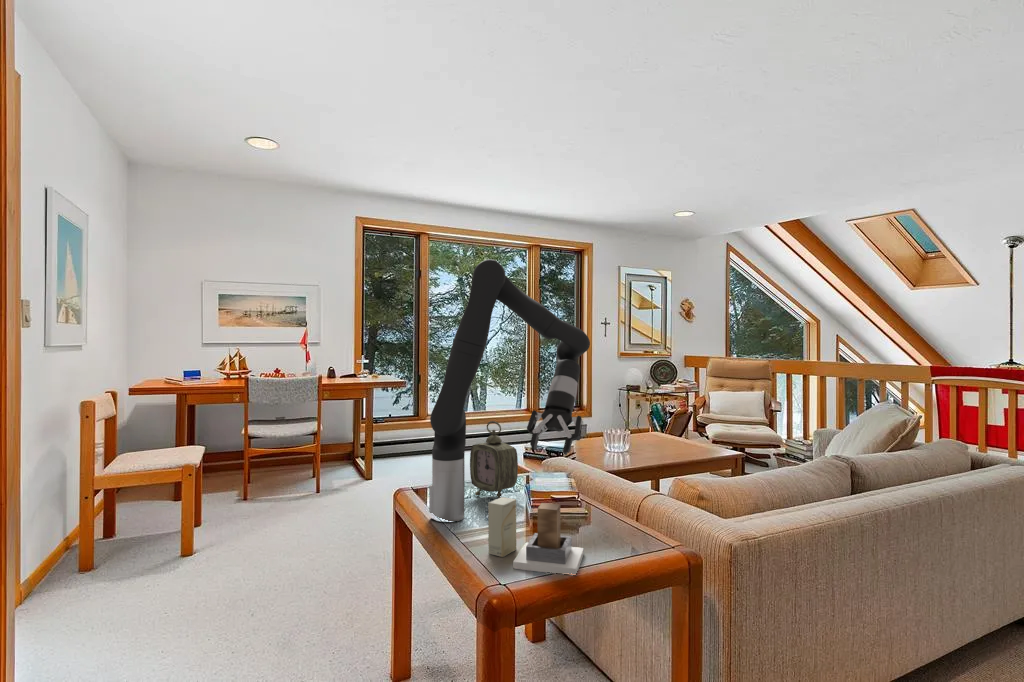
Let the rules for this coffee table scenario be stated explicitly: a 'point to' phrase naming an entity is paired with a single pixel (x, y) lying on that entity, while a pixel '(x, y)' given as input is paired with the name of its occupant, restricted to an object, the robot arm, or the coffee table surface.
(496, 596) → the coffee table surface
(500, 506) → the skincare box
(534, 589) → the coffee table surface
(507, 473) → the tabletop clock
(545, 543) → the walnut peg
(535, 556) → the mount board
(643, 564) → the coffee table surface
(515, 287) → the robot arm
